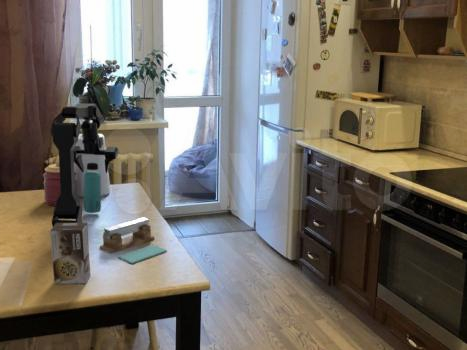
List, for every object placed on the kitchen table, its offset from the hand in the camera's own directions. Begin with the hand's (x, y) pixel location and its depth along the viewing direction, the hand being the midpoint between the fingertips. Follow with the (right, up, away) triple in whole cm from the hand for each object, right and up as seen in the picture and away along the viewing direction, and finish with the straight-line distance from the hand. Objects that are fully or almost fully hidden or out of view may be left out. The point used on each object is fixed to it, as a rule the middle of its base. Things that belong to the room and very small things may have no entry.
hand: (95, 172), depth 218 cm
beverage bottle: (-1, -16, -1) cm, 16 cm away
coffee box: (+8, -31, -57) cm, 66 cm away
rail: (+18, -20, -31) cm, 41 cm away
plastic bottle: (-8, -9, +28) cm, 31 cm away
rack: (+18, -24, -30) cm, 43 cm away
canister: (-17, -12, +14) cm, 26 cm away
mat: (+25, -26, -39) cm, 53 cm away
